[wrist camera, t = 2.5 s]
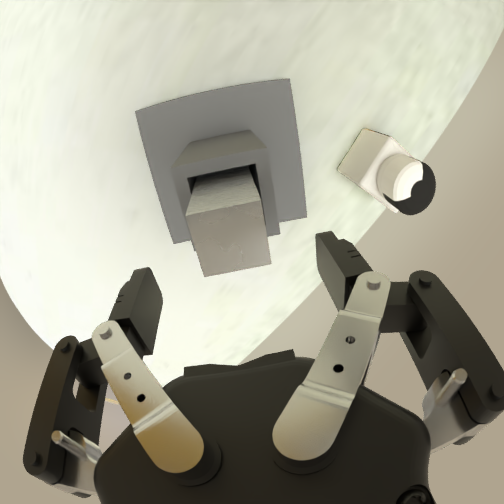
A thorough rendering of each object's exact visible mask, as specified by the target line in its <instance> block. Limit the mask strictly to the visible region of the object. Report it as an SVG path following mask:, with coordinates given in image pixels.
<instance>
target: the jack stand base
mask: <svg viewBox="0 0 504 504" xmlns="http://www.w3.org/2000/svg"><path fill="white" fill-rule="evenodd" d="M135 113H136V117H137V122H138V126H139V130H140V134H141V137H142V141H143V145H144V149H145V153H146V156H147V160H148V163H149V167H150V171H151V174H152V177H153V181H154V184H155V188H156V191H157V194H158V197H159V201H160V204H161V207H162V210H163V213H164V216H165V219H166V223H167V226H168V229H169V232H170V235H171V237H172V240H173V243H174V244H176V243H181V242H185V241H190V240H191V242H192V245H193V248H194V251H196V249H195V246H194V243H193V240H192V236H191V233H190V230H189V227H188V223H187V220H186V216H185V215H186V212H187V208H188V205H189V202H190V198H191V195H192V192H193V188H194V185H195V182H196V179H197V175H202V174H206V173H211V172H215V171H220V170H225V169H229V168H234V167H239V166H245V165H248V167H249V170H250V173H251V175H252V178H253V180H254V183H255V186H256V188H257V191H258V193H259V196H260V199H261V203H262V209H263V215H264V221H265V227H266V233H267V237H268V236H273V235H278V234H280V228H279V222H285V221H290V220H295V219H301V218H306V217H307V211H306V200H305V190H304V180H303V171H302V162H301V154H300V146H299V138H298V130H297V123H296V116H295V109H294V103H293V96H292V90H291V84H290V79H281V80H272V81H264V82H256V83H249V84H243V85H237V86H231V87H226V88H221V89H216V90H211V91H206V92H202V93H198V94H193V95H189V96H185V97H181V98H178V99H174V100H170V101H167V102H163V103H160V104H157V105H153V106H150V107H147V108H144V109H141V110H138V111H135Z"/></svg>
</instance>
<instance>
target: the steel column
mask: <svg viewBox="0 0 504 504" xmlns="http://www.w3.org/2000/svg"><path fill="white" fill-rule="evenodd" d="M185 216H186V220H187V223H188V227H189V230H190V233H191V236H192V240H193V243H194V246H195V249H196V252H197V256H198V259H199V262H200V265H201V268H202V271H203V274H204V277H207V276H213V275H218V274H223V273H228V272H233V271H238V270H243V269H249V268H254V267H259V266H264V265H269V264H271V258H270V252H269V245H268V239H267V233H266V227H265V221H264V215H263V209H262V203H261V199H260V196H259V193H258V191H257V188H256V186H255V183H254V180H253V178H252V175H251V173H250V170H249V167H248V165H245V166H239V167H234V168H229V169H225V170H220V171H215V172H211V173H206V174H202V175H197V179H196V182H195V185H194V188H193V192H192V195H191V198H190V202H189V205H188V208H187V212H186V215H185Z"/></svg>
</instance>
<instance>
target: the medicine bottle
mask: <svg viewBox="0 0 504 504" xmlns="http://www.w3.org/2000/svg"><path fill="white" fill-rule="evenodd" d="M338 171H339V172H340V173H341V174H343V175H344V176H346V177H347V178H348V179H350V180H351V181H353V182H354V183H355V184H357V185H358V186H359V187H361V188H362V189H364V190H365V191H366V192H368V193H369V194H370V195H372V196H373V197H374V198H376V199H377V200H378V201H380V202H381V203H382V204H384V205H385V206H386V207H387V208H389V209H390V210H391V211H393V212H394V213H397V212H398V211H400V212H402V213H403V214H406V215H414V214H417V213H420V212H422V211H423V210H424V209H425V208H427V207H428V205H429V204H430V203H431V201H432V199H433V196H434V193H435V188H436V182H435V176H434V173H433V171H432V170H431V168H430V167H429V166H428V165H427V164H425V163H423V162H421V161H419V160H417V159H415V158H414V157H413V156H412V155H411V154H410V153H409V152H408V151H407V150H405V149H404V148H403V147H402V146H401V145H400V144H399V143H398V142H397V141H396V140H395V139H394V138H393V137H391V136H388V135H385V134H382V133H379V132H375V131H372V130H369V129H362V131H361V133H360V134H359V136H358V137H357V139H356V140H355V142H354V144H353V145H352V147H351V148H350V150H349V151H348V153H347V155H346V156H345V158H344V159H343V161H342V162H341V164H340V165H339V167H338Z"/></svg>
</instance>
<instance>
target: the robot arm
mask: <svg viewBox="0 0 504 504" xmlns="http://www.w3.org/2000/svg"><path fill="white" fill-rule="evenodd" d="M315 239H316V257H317V267H318V271H319V274H320V276H321V278H322V280H323V282H324V283H325V286H326V288H327V290H328V292H329V294H330V296H331V298H332V300H333V302H334V304H335V306H336V308H337V310H338V314H337V317H336V319H335V321H334V323H333V325H332V327H331V329H330V332H329V334H328V336H327V338H326V340H325V342H324V344H323V346H322V348H321V350H320V352H319V354H318V356H317V358H316V360H315V359H312V358H307V357H295V354H294V351H293V349H292V350H287V351H282V352H278V353H272V354H267V355H264V356H262V357H259V358H257V359H254V360H252V361H249V362H247V363H244V364H241V365H238V366H232V365H217V364H206V365H198V366H189V367H184V375H183V376H180V377H178V378H176V379H174V380H172V381H171V382H169V383H168V384H166V385H165V386H164V387H162V386H161V385H160V384H159V382H158V381H157V380H156V378H155V377H154V376H153V374H152V373H151V371H150V370H149V369H148V367H147V366H146V365H145V363H144V362H143V356H144V355H153V349H154V344H155V339H156V334H157V329H158V324H159V319H160V314H161V310H162V305H163V298H162V293H161V291H160V289H159V286H158V284H157V282H156V280H155V277H154V275H153V273H152V270H151V269H150V268H149V267H146V268H142V269H137V270H134V272H133V274H132V276H131V279H130V281H127V282H126V283H125V285H124V286H123V287H122V288H121V290H120V292H119V294H118V297H117V299H116V303H115V304H114V306H113V309H112V311H111V314H110V317H109V319H108V321H106V322H103V323H101V324H100V325H99V326H97V327H96V329H95V330H94V331H93V333H92V338H91V339H88V340H85V341H83V342H80V343H79V341H78V340H77V339H76V337H74V336H66V337H64V338H63V339H61V340H60V341H59V342H58V343H57V345H56V346H55V348H54V351H53V354H52V356H51V359H50V361H49V364H48V367H47V370H46V373H45V375H44V379H43V381H42V384H41V388H40V391H39V394H38V398H37V401H36V404H35V407H34V411H33V415H32V418H31V422H30V426H29V431H28V435H27V440H26V444H25V449H24V455H23V464H24V467H25V469H26V471H27V472H28V473H29V474H31V475H33V476H35V477H37V478H38V479H41V480H43V481H44V482H45V483H47V484H49V485H51V486H53V487H55V488H57V489H60V490H62V491H64V492H67V493H71V494H74V495H76V496H78V497H81V498H87V497H90V496H91V495H95V496H98V497H99V499H100V502H101V504H436V502H435V500H434V498H433V496H432V494H431V492H430V489H429V484H428V464H429V457H430V454H432V453H434V452H436V451H438V450H440V449H443V448H445V447H446V446H448V445H450V444H452V443H453V444H455V445H461V444H464V443H466V442H468V441H469V440H470V439H471V438H473V437H474V436H475V435H476V434H478V433H479V432H480V431H481V430H483V429H484V428H485V427H486V426H487V425H488V424H489V423H491V422H492V421H493V420H494V419H495V418H496V417H497V416H498V415H499V414H500V413H501V412H503V410H504V371H503V369H502V367H501V366H500V364H499V362H498V361H497V359H496V357H495V355H494V354H493V352H492V351H491V349H490V348H489V346H488V345H487V343H486V341H485V340H484V339H483V337H482V335H481V334H480V333H479V331H478V329H477V328H476V327H475V325H474V324H473V322H472V321H471V319H470V318H469V317H468V315H467V314H466V313H465V311H464V310H463V309H462V307H461V306H460V305H459V303H458V302H457V301H456V299H455V298H454V297H453V296H452V294H451V293H450V292H449V290H448V289H447V288H446V287H445V285H444V284H443V283H442V282H441V281H440V279H439V278H438V277H437V276H436V275H435V274H433V273H431V272H428V271H423V270H421V271H416V272H414V273H412V274H411V275H410V277H409V282H390V279H389V278H388V277H387V276H386V275H384V274H383V273H380V272H374V271H373V270H372V269H371V267H370V266H369V265H368V263H367V262H366V261H365V259H364V258H363V257H362V256H361V254H360V253H359V252H358V251H357V249H356V248H355V247H354V245H353V244H352V243H350V242H348V241H347V240H345V239H341V240H338V239H337V237H336V236H335V235H334V233H333V232H332V231H328V232H323V233H318V234H316V237H315ZM392 332H399V333H400V335H401V337H402V339H403V341H404V343H405V345H406V347H407V349H408V351H409V353H410V355H411V356H412V359H413V361H414V363H415V365H416V367H417V369H418V371H419V373H420V375H421V378H422V380H423V382H424V384H425V386H426V389H427V391H428V392H427V393H426V395H425V396H424V399H423V403H422V407H423V411H424V419H423V421H422V420H421V419H420V418H419V417H418V416H417V415H416V414H414V413H412V412H410V411H409V410H407V409H405V408H403V407H401V406H399V405H397V404H396V403H394V402H392V401H390V400H388V399H386V398H385V397H383V396H381V395H379V394H377V393H376V392H374V391H372V390H370V389H368V388H366V387H365V386H364V384H365V382H366V379H367V375H368V373H369V369H370V366H371V363H372V360H373V357H374V354H375V351H376V348H377V344H378V341H379V338H380V334H381V333H392ZM75 378H76V379H77V380H78V381H79V382H80V383H79V387H78V391H77V395H76V399H75V397H74V395H73V385H74V381H75ZM108 383H109V385H110V387H111V389H112V391H113V393H114V395H115V396H116V398H117V400H118V402H119V404H120V406H121V407H122V409H123V411H124V413H125V414H126V416H127V418H128V419H129V421H130V425H129V426H128V427H127V428H126V429H125V430H124V431H123V432H122V433H121V435H120V436H119V437H118V438H117V439H116V440H115V441H114V442H113V444H111V446H110V447H109V448H108V449H107V450H106V451H105V452H104V453H103V454H102V452H101V450H100V448H99V447H98V444H99V435H100V427H101V420H102V413H103V407H104V401H105V396H106V389H107V385H108Z"/></svg>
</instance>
